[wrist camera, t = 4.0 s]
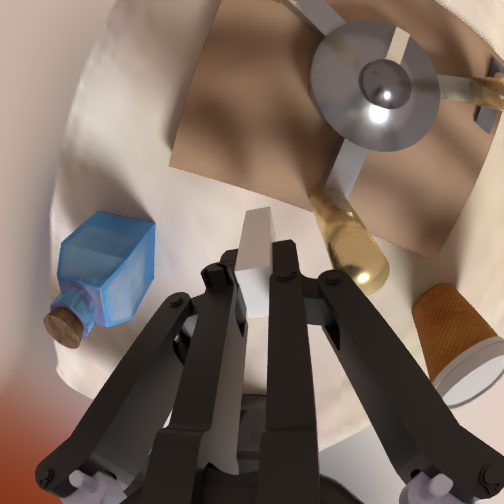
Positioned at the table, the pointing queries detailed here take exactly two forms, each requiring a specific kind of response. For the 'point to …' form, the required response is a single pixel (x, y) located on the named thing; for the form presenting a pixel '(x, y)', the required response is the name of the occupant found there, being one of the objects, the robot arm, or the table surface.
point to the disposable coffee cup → (457, 346)
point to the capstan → (371, 118)
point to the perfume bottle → (101, 276)
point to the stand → (319, 133)
